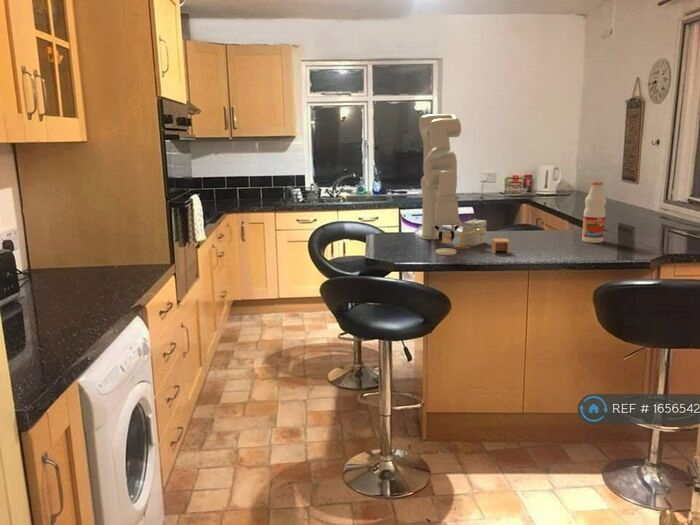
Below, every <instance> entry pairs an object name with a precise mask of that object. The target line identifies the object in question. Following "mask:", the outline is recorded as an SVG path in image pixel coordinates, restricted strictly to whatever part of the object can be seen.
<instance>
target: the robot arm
mask: <svg viewBox="0 0 700 525" xmlns="http://www.w3.org/2000/svg"><path fill="white" fill-rule="evenodd" d="M418 120H419V121H418V126H419V128H418V129H419V132H420V135H421V139H422V142H423V166H422V168H423V170H422V171H423V176H422V178H420V187H421V192H422V193H421V196H422V221H421V222H422V225H421V226H422V227H421V229H422V233H420V234H419V236H418V237H419V238H420V239H421V240H422V239H424V240H439V241H440V242H442V229H443V226H451V230H450V231H451V234H452V235H451V242H453V241H454V239H455V237H454V234H455V233H456V231H457V230H458V229H459V228H460V227H463V221H462V220H461V219H460V217H459V216H460V215H459V212H460V211H459V203H458V201H457V200H459V199H460V196H459V195H457V189H458V188H457V187H458V171H457V170H458V161H457V156H456V154H455V152H454V151H451V144H450V138H458V137H460V135H461V133H462V125H461V121H460V119H459V118H458V117H457V116H456V115H454V114H453V113H444V114H443V113H442V114H441V113H440V114H438V113H434V114H433V113H432V114H425V115H422V116H420V117H419V119H418Z"/></svg>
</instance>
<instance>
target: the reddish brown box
mask: <svg viewBox="0 0 700 525" xmlns="http://www.w3.org/2000/svg"><path fill="white" fill-rule="evenodd" d="M496 251H497V252H499V251H501V252H503V251H505V253H507V254H510V240H509V239H508V238H491V252H492V253H493V254H494V255H495V254H496Z"/></svg>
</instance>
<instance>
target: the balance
mask: <svg viewBox="0 0 700 525" xmlns="http://www.w3.org/2000/svg"><path fill="white" fill-rule="evenodd" d="M480 231H484V229H481V228H477V229H475V231H471V232H466V233H463V232H461V233H454V238H455V237H459V244H452V245H453V246H452V247H453V249H455V250H466V249H467V250H470V249H471V245H464V244H463V237H464V235H466V234H472V233H477V232H480Z"/></svg>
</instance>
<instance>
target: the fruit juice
mask: <svg viewBox="0 0 700 525" xmlns="http://www.w3.org/2000/svg"><path fill="white" fill-rule="evenodd" d="M590 184H591V185H590V186H591V187H590V190H589V193H588V194H587V196H586V197H585V200H584V204H585V208H584V210H583V219H582V233H581V241H582V242H584V243H591V244H592V243H593V244H598V243H602V242H603V241H604V238H605V237H604V235H605V226H606V225H605V223H606V208H605V207H606V204H607V198H606V196H605V195H604V194H605V193H604V190H603V187H602V186H603V184H604V183H603V181H591V182H590Z"/></svg>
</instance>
